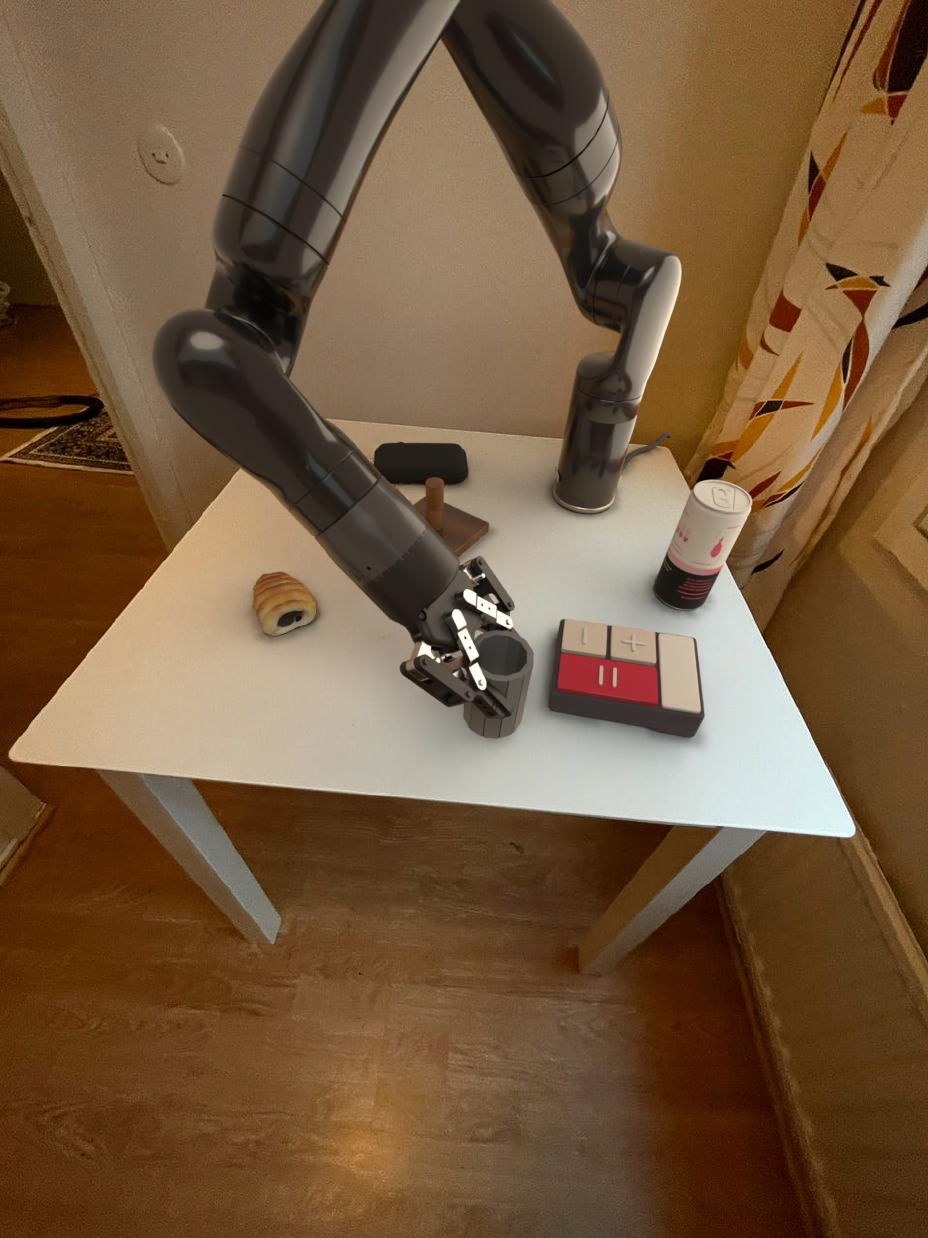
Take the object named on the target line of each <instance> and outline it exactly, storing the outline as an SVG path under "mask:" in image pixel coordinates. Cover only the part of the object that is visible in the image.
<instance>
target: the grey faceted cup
mask: <svg viewBox="0 0 928 1238" xmlns="http://www.w3.org/2000/svg"><path fill="white" fill-rule="evenodd" d="M519 635H520V634H519ZM519 635H517V634H515V633H513V632H511V633H510V631H501V630H495V631H494V630H492V631H489V632H486V633H483V632H481V633H480V634H479V635H477V636H476V637H474V640H473V643H474V645H475V648H476V650H477V652H478V654H479V659H478V665H479V667H480V669H481V671H482V673H483V675H484V677H485V679H486V682H490V683H491V684H492V685H493V686H494V687H495V688H496V689H497V690H498V691H499V692H500V693H501V694H502V695H503V697H504V698H505V699H506V700H507V701H508V702H509V703H510V704H511V705H512V706H513V708H514V709H513V712H512V714H511V716H510V717H506V718H502V719H489V718H487V717H486V716H485V715H484V713H482V712H481V710H479V709H478V708H477V707H476V706H475V705H474V704H473V703H472V702H468V703H464V704H463V711H462V712H463V713H462V717H463V720H464V721H465V723H466V725H467V728H468V729H469V730H470V731H472V732H474V733H475V734H476V735H478V737H481V738H483V739H492V740H500V739H503V738H506V737H509V736H511V735H512V734H513V733H515V732H516V730H517V729H518V727H519V726H520V725H521V723H522V720H523V715H524V712H525V706H526V701H527V697H528V692H529V688H530V683H531V679H532V674H533V669H534V664H535V662H534V661H535V657H534V656H535V652H534V650H533V648H532V646H530V644H529V643H528V641H527V640H526V638H524V637H523V636H521V635H520V636H521V637H520V636H519ZM465 674H466V675H465V677H466V679H469V676H468V674H467V672H466V673H465Z"/></svg>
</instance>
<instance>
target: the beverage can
mask: <svg viewBox="0 0 928 1238" xmlns="http://www.w3.org/2000/svg"><path fill="white" fill-rule="evenodd" d="M752 506H753V498H752V496H751V495H750V493H748V491H746V490H745V489H743V488H742V487H740V486H738V485H737V484H734V483H732V482H729V481H725V480H721V479H705V480H702V481H699V482H697V483H696V484H695V485H694V487H693V488H692V489H691V490H690V492H689V495H688V498H687V500H686V502H685V505H684V507H683V510H682V513H681V515H680V518H679V520H678V523H677V526H676V528H675V530H674V533H673V535H672V538H671V540H670V543H669V545H668V548H667V550H666V553H665V555H664V557H663V560H662V563H661V566H660V568H659V570H658V573H657V575H656V578H655V580H654V584H653V591H654V593H655V595H656V596H657V598H658V599H659V600H660V601H661V602H663V604H665V605H667V606H669V607H671V608H673V609H676V610H681V611H690V610H696V609H699V608H700V607H703V606H704V604H705V603H706V601H707V599H708V596H709V595H710V592H711V591H712V588H713V587H714V585H715V583H716V582H717V579H718V577H719V575H720V573H721V571H722V569H723V567H724V565H725V563H726V561H727V560H728V557H729V555H730V554H731V552H732V549H733V547H734V545H735V543H736V541H737V539H738V537H739V536H740V533H741V532H742V529H743V527H744V525H745V523H746V521H747V519H748V518H749V515H750V513H751V511H752Z"/></svg>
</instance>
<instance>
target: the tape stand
mask: <svg viewBox="0 0 928 1238" xmlns="http://www.w3.org/2000/svg"><path fill="white" fill-rule="evenodd" d="M412 505H413V506H414V507H415V508H416V509H417V510H418V511H419V513H420V514H421V515H422V516H423V517H424V518H425V520H426V521H427V522H428V523H429V524H430V525H431V526H432V528H433V529H434V530H435V531H436V532H437V533H438V534H439V536H440V537H441V538H442V539H443V540H444V541H445V542H446V544H447V545H448V546H449V547H450V548H451V549H452V550H453V552H454V553H455V554H456V555H457V556H458V558H459V557H460V556H462V554H464V553H465V552H466V551H467V550H469V548H471V547H472V546H473V545H474V544H476V543H477V542H478V541H479V540H480V539H482V538H483V537H484V536H485V535H486V534H487V533H489V530H490V522H489V521H486V520H484V519H482V518H480V517H477V516H475V515H473V514H471V513H469V512H466V511H465V510H462V509H460V508H458V507H456V506H453V505H451V504H450V503H447V502H445V484H444V481H443V480H442V479H440V478H437V477H432V478H429V479H427V480H426V484H425V496H423V497H422V498H421V499H419V500H418V501H416V502H415V503H413V504H412Z"/></svg>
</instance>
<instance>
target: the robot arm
mask: <svg viewBox="0 0 928 1238" xmlns="http://www.w3.org/2000/svg"><path fill="white" fill-rule="evenodd" d="M440 41H441V43H442V44H443V46H444V47H445V49H446V51H447V53H448V54H449V56H450V58H451V60H452V62H453V63H454V65H455V67H456V69H457V71H458V73H459V75H460V76H461V79H462V80H463V82H464V84H465V86H466V88H467V90H468V91H469V93H470V95H471V97H472V99H473V100H474V102H475V104H476V107H477V108H478V109H479V111H480V113H481V115H482V116H483V119H484V120H485V122H486V123H487V126H488V127H489V129H490V130H491V133H492V134H493V136H494V138H495V140H496V143H497V145H498V146H499V149H500V150H501V152H502V155H503V157H504V159H505V161H506V163H507V165H508V167H509V168H510V170H511V172H512V174H513V176H514V178H515V180H516V181H517V184H518V185H519V188H520V189H521V191H522V193H523V194H524V196H525V198H526V199H527V201H528V202H529V204H530V206H531V208H532V209H533V210H534V212H535V214H536V217H537V218H538V220H539V222H540V224H541V226H542V228H543V230H544V232H545V234H546V236H547V238H548V240H549V242H550V244H551V246H552V247H553V249H554V251H555V253H556V255H557V258H558V260H559V262H560V265H561V267H562V270H563V273H564V276H565V278H566V282H567V284H568V287H569V290H570V292H571V295H572V298H573V301H574V304H575V305H576V307H577V309H578V311H579V312H580V315H582V317H583V318H584V319H585V320H587V321H588V322H589V323H591V324H593V325H595V326H597V327H600V328H602V329H605V330H608V331H610V332H613V333H616V334H619V339H618V342H617V346H616V348H615V350H603V351H596V352H592V353H589V354H587V355H584V356H582V358H581V359H580V360H579V361H578V363H577V365H576V370H575V374H574V378H573V379H574V380H573V383H572V384H573V385H572V390H571V395H570V399H569V406H568V412H567V417H566V422H565V426H564V432H563V437H562V444H561V448H560V454H559V460H558V464H557V467H555V469H554V475H555V480H554V484H553V487H552V497H553V498H554V500H555V501H556V502H557V503H558V504H559V506H560V505H561V507H563V508H565V509H567V510H570V511H573V512H575V513H581V514H599V513H603V512H605V511H607V510H609V509H610V508H611V507H612V505H614V501H615V496H616V491H617V489H618V484H619V482H620V477H621V474H622V472H623V470H625V468H626V467H627V466H628V464H629V462H630V461H631V460H632V458H634V457H635V456H638V455H639V454H642V453H645V452H648V451H650V450H652V449H655V448H656V447H658V446H659V445H660V444H661V443H663V441H664V440H665V439H672V434H671V433H670V431H665V432H663V433H662V434H661V435H660V436H659V437H658V438H657V439H656V440H654V442H652V443H650V444H648V445H644V446H642V447H638V448H636V449H634V450H633V451H630V452H629V453H628V449H629V445H630V443H631V439H632V436H633V431H634V429H635V424H636V421H637V417H638V413H639V410H640V407H641V404H642V400H643V396H644V393H645V389H646V386H647V382H648V381H649V378H650V376H651V374H652V371H653V369H654V367H655V365H656V362H657V359H658V355H659V354H660V350H661V347H662V345H663V341H664V338H665V335H666V332H667V330H668V327H669V323H670V321H671V317H672V315H673V312H674V310H675V306H676V304H677V303H676V302H677V299H678V296H679V293H680V288H681V284H682V277H683V264H682V261H681V258H680V257H679V254H678V253H675V251H671V250H669V249H666V248H662V247H659V246H654V245H651V244H647V243H643V242H639V241H637V240H632V239H628V238H626V237H624V236H623V235H621V234H620V233H619V232H618V231H617V230H616V227H615V226H614V224H613V221H612V219H611V218H610V215H609V211H608V209H607V207H608V204H609V202H610V199H611V197H612V195H613V192H614V190H615V187H616V184H617V182H618V178H619V174H620V171H621V166H622V158H623V139H622V132H621V127H620V124H619V119H618V117H617V114H616V110H615V106H614V104H613V101H612V97H611V93H610V92H609V88H608V87H609V86H608V83H607V81H606V78H605V75H604V73H603V70H602V68H601V65H600V63H599V61H598V58H597V56H596V54H595V53H594V52H593V49H591V47H590V45H589V44H588V42H587V41H586V39H584V37H583V35H582V34H581V33H580V32H579V30H578V29H577V27H576V26H575V25H574V24H573V23H572V21H571V20H570V19H569V18H568V17H567V15H566V14H565V13H564V12H563V11H562V10H561V9H560V7H559V6H558V5H557V4H556V3H555V2H554V1H553V0H320V2H319V3H318V5H317V7H316V8H315V10H314V11H313V13H312V14H311V15H310V17H309V18H308V20H307V21H306V23H305V24H304V26H303V27H302V28H301V30H300V31H299V33H298V34H297V35H296V37H295V39H294V40H293V41H292V43H291V44H290V45H289V47H288V49H287V50H286V51H285V52H284V54H283V56H281V59H280V60H279V61H278V63H277V64H276V66H275V67H274V68H273V70H272V72H271V73H270V75H269V77H268V79H267V80H266V82H265V84H264V85H263V87H262V88H261V91H260V93H259V94H258V96H257V98H256V100H255V102H254V104H253V106H252V108H251V110H250V113H249V115H248V117H247V120H246V123H245V125H244V128H243V130H242V133H241V136H240V137H239V141H238V144H237V147H236V149H235V152H234V155H233V158H232V160H231V164H230V167H229V169H228V173H227V175H226V179H225V181H224V185H223V186H222V190H221V193H220V194H221V195H220V196H219V199H218V201H217V204H216V209H215V211H214V216H213V219H212V225H211V232H210V236H211V237H210V240H211V241H210V242H211V245H212V249H213V252H214V256H215V265H214V270H213V274H212V276H211V281H210V283H209V288H208V291H207V293H206V294H207V295H206V298H205V300H204V301H205V302H204V305H203V307H201V308H196V307H195V308H190V309H184V310H181V311H178V312H176V313H173V314H172V315H170V316H169V317H167V318H166V319H165V320H164V321H163V322H162V323H161V324H160V326H158V328H157V330H156V331H155V334H154V336H153V339H152V342H151V347H150V363H151V369H152V374H153V377H154V379H155V380H154V381H155V382H156V384H157V387H158V388H159V391H160V393H161V394H162V396H163V397H164V399H165V401H167V403H168V405H169V406H170V407H171V408H172V410H173V411H174V412H175V413H176V414H177V415H178V416H179V417H180V418H181V419H182V420H183V421H184V423H186V424H187V426H189V427H190V428H191V429H192V430H193V431H194V432H195V433H196V434H197V435H199V437H201V438H202V439H203V440H204V441H205V442H206V443H208V444H209V445H211V447H213V448H214V449H215V450H217V451H218V452H219V453H220V454H222V456H224V457H225V458H227V459H228V460H229V461H230V462H231V463H233V464H234V465H235V466H237V467H238V468H239V469H240V470H242V471H243V472H245V473H246V474H247V475H248V476H250V477H251V478H253V479H254V480H255V481H257V482H258V483H260V484H261V485H262V486H263V487H265V488H266V489H267V490H268V491H269V492H270V493H271V494H272V495H273V496H274V497H275V498H276V499H277V501H278V502H279V503H280V504H281V506H282V507H283V508H284V509H285V510H286V511H287V512H288V513H289V514H290V515H291V517H293V518H294V519H295V520H296V521H297V522H298V523H299V524H300V526H302V527H303V528H304V529H305V530H306V531H307V532H308V534H310V536H311V537H314V538H313V539H315V541H316V542H317V543H318V544H319V545H320V547H321V548H322V549H323V550H324V551H325V553H326V555H327V556H328V557H329V558H330V560H331V561H332V562H333V563H334V565H336V566H337V567H338V568H339V569H340V570H341V571H342V573H344V575H346V577H347V578H349V580H350V581H351V582H352V583H353V584H354V585H355V586H356V587H357V588H359V590H360V591H361V592H362V593H363V594H364V595H365V596H366V597H367V598H368V599H369V600H370V601H371V602H372V603H373V604H374V605H375V606H376V607H377V608H378V609H379V610H380V611H381V612H382V613H383V614H384V615H385V616H386V617H387V618H388V619H389V620H391V621H392V622H394V623H397V624H398V625H400V626H402V627H404V628H405V629H406V630H407V632H408V633H409V636H410V638H411V640H412V643H413V644H414V646H413V649H412V650H411V654H410V656H409V659H408V660H407V659H406V660H405V661H402V662H401V663H400V665H399V671H400V673H401V675H402V676H403V677H405V678H406V679H407V680H409V681H410V682H412V683H413V684H414V685H416V686H417V687H418V688H420V689H421V690H423V691H424V692H426V693H427V694H429V696H431V697H433V698H434V699H435V700H437V701H438V702H439V703H441V704H442V705H443V706H445V707H446V708H452V707H457V706H460V705H464V703H468V702H472V703H473V704H474V705H475V706H476V707H477V708H478V709H479V710H481V712H482V713H484V715H485V716H486V717H487V718H489V719H502V718H506V717H510V716H511V714H512V712H513V709H514V708H513V706H512V705H511V704H510V703H509V702H508V701H507V700H506V699H505V698H504V697H503V695H502V694H501V693H500V692H499V691H498V690H497V689H496V688H495V687H494V686H493V685H492V684H491V683H490V682H486V679H485V677H484V675H483V673H482V671H481V669H480V667H479V665H478V659H479V654H478V652H477V650H476V648H475V645H474V643H473V640H474V639H475V635H476V632H477V631H479V632H481V633H486V632H489V631H492V630H494V631H495V630H501V631H510V633H511V632H513V633H515V634H517V635H519V636H520V637H522V636H521V635H520V634H519V632H518V631H517V630H516V629H515V628H514V621H513V619H512V617H511V612H512V611H514V610H515V609H516V608H515V607H516V605H515V602H514V600H513V599H512V597H511V596H510V595H509V593H508V591H507V590H506V589H505V587H504V586H503V584H502V583H501V581H500V580H499V578H498V577H497V576H496V574H495V572H494V571H493V569H492V568H491V567H490V565H489V563H487V561H486V559H485V558H484V557H483V556H481V555H478V556H475V557H474V558H471V559H469V560H467V561H465V562H464V563H462V564H461V560H460V558H459V557H458V556H457V555H456V554H455V553H454V552H453V550H452V549H451V548H450V547H449V546H448V545H447V544H446V542H445V541H444V540H443V539H442V538H441V537H440V536H439V534H438V533H437V532H436V531H435V530H434V529H433V528H432V526H431V525H430V524H429V523H428V522H427V521H426V520H425V518H424V517H423V516H422V515H421V514H420V513H419V511H418V510H417V509H416V508H415V507H414V506H413V505H414V504H413V503H412V502H411V501H410V500H409V499H408V498H407V497H406V496H405V494H403V493H402V492H401V491H400V490H399V489H398V488H397V487H396V486H394V484H391V483H390V482H389V481H388V480H387V479H386V478H385V477H384V476H383V475H381V473H380V472H379V471H378V470H377V469H376V468H375V466H374V465H373V464H374V463H373V462H371V460H369V458H368V457H367V456H366V455H365V454H364V453H363V452H362V450H361V449H360V448H359V447H358V446H357V444H356V443H355V442H354V441H353V440H352V439H351V438H350V437H349V436H348V435H347V434H346V433H345V432H344V431H343V430H342V429H340V427H338V426H337V425H335V424H334V423H333V422H331V421H330V420H328V419H326V418H325V417H323V416H322V415H321V414H320V413H319V411H317V409H316V408H315V406H313V405H312V403H311V402H310V401H309V400H308V399H307V397H306V396H304V394H303V393H302V392H301V390H300V389H299V388H298V387H297V386H296V385H295V384H294V382H292V381H293V380H291V376H292V372H293V369H294V367H295V365H296V364H295V363H296V360H297V357H298V353H299V351H300V347H301V343H302V340H303V336H304V333H305V329H306V326H307V322H308V318H309V314H310V311H311V307H312V305H313V301H314V299H315V297H316V295H317V292H318V290H319V288H320V287H321V285H322V282H323V281H324V278H325V276H326V274H327V272H328V270H329V266H330V265H331V263H332V261H333V257H334V255H335V252H336V251H337V248H338V246H339V243H340V240H341V238H342V236H343V233H344V231H345V228H346V225H347V223H348V221H349V219H350V216H351V213H352V211H353V208H354V206H355V204H356V201H357V199H358V196H359V194H360V192H361V189H362V187H363V185H364V182H365V180H366V179H367V176H368V173H369V172H370V169H371V167H372V165H373V162H374V161H375V159H376V156H377V154H378V152H379V150H380V147H381V146H382V143H383V141H384V139H385V138H386V136H387V134H388V132H389V130H390V128H391V126H392V124H393V123H394V121H395V119H396V117H397V115H398V113H399V112H400V110H401V108H402V106H403V104H404V102H405V101H406V99H407V98H408V96H409V94H410V92H411V90H412V88H413V87H414V85H415V83H416V81H417V80H418V78H419V76H420V74H421V72H422V71H423V69H424V67H425V66H426V64H427V62H428V61H429V59H430V58H431V56H432V54H433V53H434V51H435V48H436V47H437V45H438V44H439V42H440ZM627 453H628V454H627ZM490 595H493V596H494V597H495V599H496V600H497V602H496V603H495V601H494V600H493V599H492V597H491V596H490ZM432 652H433V653H432ZM458 652H461V656H457V657H453V656H452V655H451V654H454V653H458ZM463 669H464V671H465V672H466V673H467V674H468V676H469V679H466V675H465V672H464V671H463Z"/></svg>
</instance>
